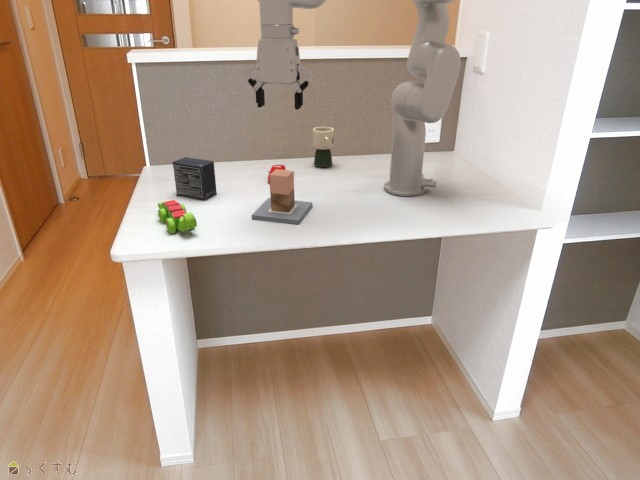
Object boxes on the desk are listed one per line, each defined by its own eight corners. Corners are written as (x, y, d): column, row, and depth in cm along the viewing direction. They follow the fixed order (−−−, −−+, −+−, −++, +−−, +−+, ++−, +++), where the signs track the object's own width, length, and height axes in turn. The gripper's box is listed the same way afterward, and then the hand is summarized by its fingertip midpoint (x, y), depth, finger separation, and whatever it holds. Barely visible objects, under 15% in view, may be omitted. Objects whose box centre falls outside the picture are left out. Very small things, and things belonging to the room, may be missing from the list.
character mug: (337, 170, 169) (337, 132, 163) (316, 171, 168) (316, 133, 162) (328, 160, 179) (329, 124, 173) (309, 162, 177) (309, 125, 171)
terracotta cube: (294, 188, 135) (293, 170, 132) (288, 194, 130) (287, 176, 128) (276, 186, 136) (276, 169, 134) (270, 193, 132) (269, 175, 129)
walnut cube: (294, 205, 137) (294, 188, 135) (288, 212, 132) (288, 195, 130) (277, 204, 138) (276, 187, 136) (271, 210, 134) (270, 193, 131)
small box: (218, 194, 148) (215, 160, 144) (205, 201, 143) (201, 166, 139) (189, 189, 152) (185, 155, 148) (175, 195, 147) (171, 161, 143)
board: (312, 206, 140) (312, 201, 139) (298, 224, 129) (298, 220, 128) (268, 201, 143) (268, 197, 142) (251, 219, 132) (251, 214, 131)
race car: (283, 186, 156) (283, 174, 154) (266, 186, 156) (265, 174, 154) (287, 172, 167) (287, 161, 166) (271, 172, 168) (271, 161, 166)
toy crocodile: (154, 214, 135) (151, 193, 132) (179, 209, 138) (176, 188, 135) (175, 242, 120) (172, 218, 117) (202, 236, 123) (199, 213, 120)
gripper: (317, 32, 117) (317, 106, 125) (248, 31, 121) (252, 102, 129) (308, 34, 111) (308, 112, 118) (236, 33, 115) (241, 108, 122)
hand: (279, 107), depth 123 cm, fingers open, 9 cm apart
